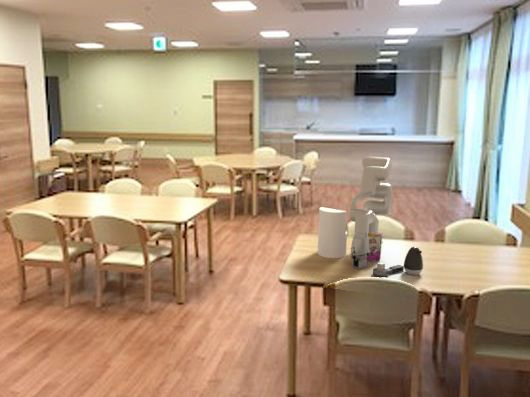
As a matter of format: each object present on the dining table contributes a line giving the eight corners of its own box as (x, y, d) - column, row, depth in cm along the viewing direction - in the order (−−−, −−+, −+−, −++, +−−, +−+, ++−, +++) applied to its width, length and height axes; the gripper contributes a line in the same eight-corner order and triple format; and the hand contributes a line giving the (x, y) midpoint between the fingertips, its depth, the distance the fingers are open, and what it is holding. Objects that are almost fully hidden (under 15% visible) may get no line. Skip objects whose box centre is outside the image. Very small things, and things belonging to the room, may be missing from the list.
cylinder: (337, 260, 294) (339, 214, 289) (312, 254, 305) (313, 209, 299) (351, 253, 308) (353, 208, 302) (326, 247, 318) (328, 204, 312)
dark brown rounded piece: (411, 277, 268) (413, 250, 265) (399, 271, 278) (401, 245, 275) (426, 275, 272) (429, 248, 269) (413, 269, 282) (416, 243, 279)
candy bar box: (360, 259, 297) (362, 232, 293) (361, 256, 301) (363, 230, 298) (379, 261, 293) (381, 234, 290) (380, 259, 298) (382, 232, 294)
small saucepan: (395, 267, 283) (396, 256, 282) (406, 272, 277) (407, 260, 275) (369, 274, 272) (370, 262, 271) (380, 279, 266) (381, 266, 264)
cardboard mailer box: (359, 264, 288) (360, 252, 286) (366, 267, 283) (367, 255, 282) (352, 266, 285) (352, 254, 283) (359, 269, 280) (359, 257, 279)
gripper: (367, 230, 288) (365, 260, 292) (345, 235, 278) (343, 266, 282) (377, 234, 282) (375, 264, 285) (354, 238, 272) (352, 270, 276)
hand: (359, 265), depth 284 cm, fingers closed on cardboard mailer box, 5 cm apart
